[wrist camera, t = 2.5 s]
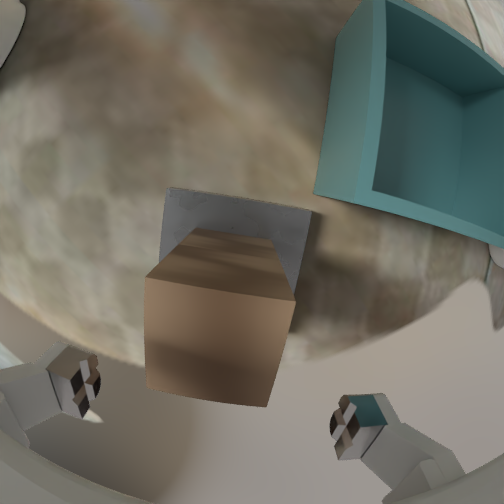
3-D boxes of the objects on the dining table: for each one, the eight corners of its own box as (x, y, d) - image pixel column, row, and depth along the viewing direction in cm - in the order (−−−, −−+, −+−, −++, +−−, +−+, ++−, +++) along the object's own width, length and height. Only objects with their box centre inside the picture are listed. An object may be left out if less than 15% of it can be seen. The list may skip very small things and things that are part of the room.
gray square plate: (161, 310, 22) (138, 348, 16) (172, 187, 19) (145, 190, 14) (280, 329, 22) (289, 372, 17) (307, 209, 20) (329, 220, 14)
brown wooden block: (188, 297, 20) (146, 387, 10) (195, 227, 19) (145, 277, 9) (257, 308, 20) (266, 407, 11) (271, 239, 19) (296, 301, 9)
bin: (313, 193, 20) (353, 203, 12) (335, 38, 16) (372, -14, 9) (447, 229, 20) (509, 251, 13) (461, 95, 17) (517, 81, 9)
